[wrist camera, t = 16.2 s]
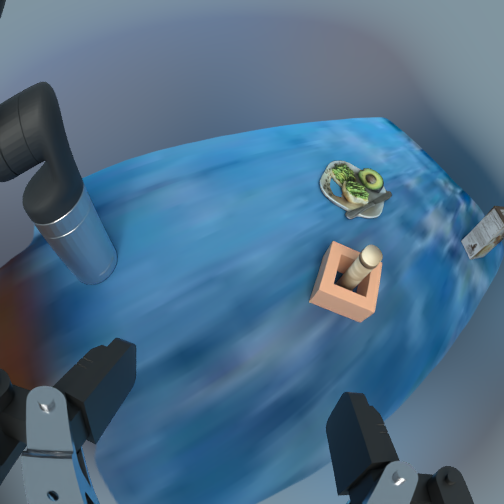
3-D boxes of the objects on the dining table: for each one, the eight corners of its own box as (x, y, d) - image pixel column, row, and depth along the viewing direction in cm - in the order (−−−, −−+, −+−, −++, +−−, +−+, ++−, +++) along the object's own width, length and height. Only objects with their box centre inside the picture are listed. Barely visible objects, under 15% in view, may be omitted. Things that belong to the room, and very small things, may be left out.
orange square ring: (309, 301, 44) (318, 289, 40) (323, 255, 49) (332, 240, 45) (360, 322, 43) (374, 312, 39) (369, 275, 48) (382, 262, 44)
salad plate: (376, 241, 53) (386, 229, 50) (305, 200, 57) (311, 185, 53) (390, 192, 63) (398, 180, 59) (332, 159, 67) (338, 146, 63)
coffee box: (474, 239, 60) (506, 206, 46) (483, 257, 56) (517, 225, 43) (460, 240, 58) (494, 205, 44) (469, 260, 55) (506, 226, 41)
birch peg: (331, 293, 45) (362, 258, 35) (335, 278, 47) (365, 240, 37) (347, 299, 45) (381, 266, 35) (351, 284, 47) (383, 249, 37)
